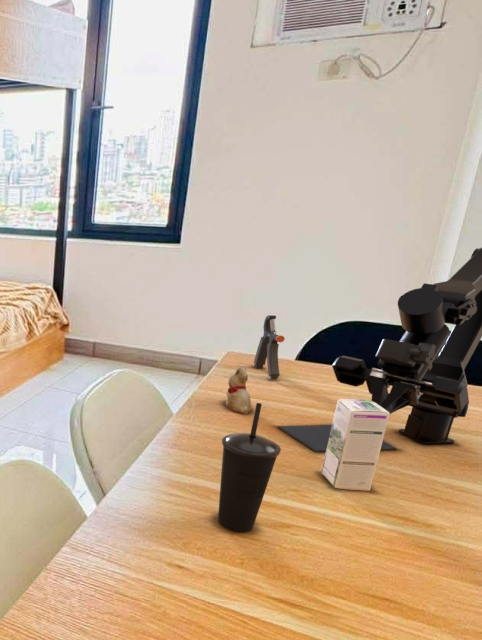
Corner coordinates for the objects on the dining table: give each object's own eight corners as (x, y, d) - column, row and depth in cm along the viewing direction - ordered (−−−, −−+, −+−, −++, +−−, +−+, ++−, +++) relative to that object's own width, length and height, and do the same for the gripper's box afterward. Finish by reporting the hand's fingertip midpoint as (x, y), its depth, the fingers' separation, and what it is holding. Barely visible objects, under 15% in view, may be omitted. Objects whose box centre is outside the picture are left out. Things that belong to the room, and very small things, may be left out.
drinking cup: (258, 515, 99) (283, 397, 92) (267, 541, 92) (295, 416, 86) (205, 508, 102) (226, 392, 95) (210, 532, 95) (233, 410, 88)
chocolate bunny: (252, 403, 145) (260, 362, 141) (249, 414, 138) (257, 372, 135) (225, 399, 147) (232, 359, 144) (221, 410, 141) (228, 368, 138)
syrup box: (371, 491, 106) (393, 412, 101) (332, 488, 107) (352, 409, 102) (355, 476, 111) (375, 399, 106) (318, 473, 112) (336, 397, 107)
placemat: (351, 425, 132) (352, 424, 132) (396, 449, 121) (396, 448, 121) (277, 427, 132) (277, 426, 132) (315, 452, 120) (315, 450, 120)
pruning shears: (270, 381, 159) (281, 323, 154) (252, 366, 171) (262, 312, 166) (279, 381, 159) (291, 323, 154) (261, 366, 171) (271, 312, 165)
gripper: (349, 311, 112) (304, 381, 110) (482, 333, 97) (432, 414, 95) (360, 347, 119) (317, 413, 117) (486, 372, 104) (439, 449, 102)
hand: (371, 421), depth 108 cm, fingers closed
